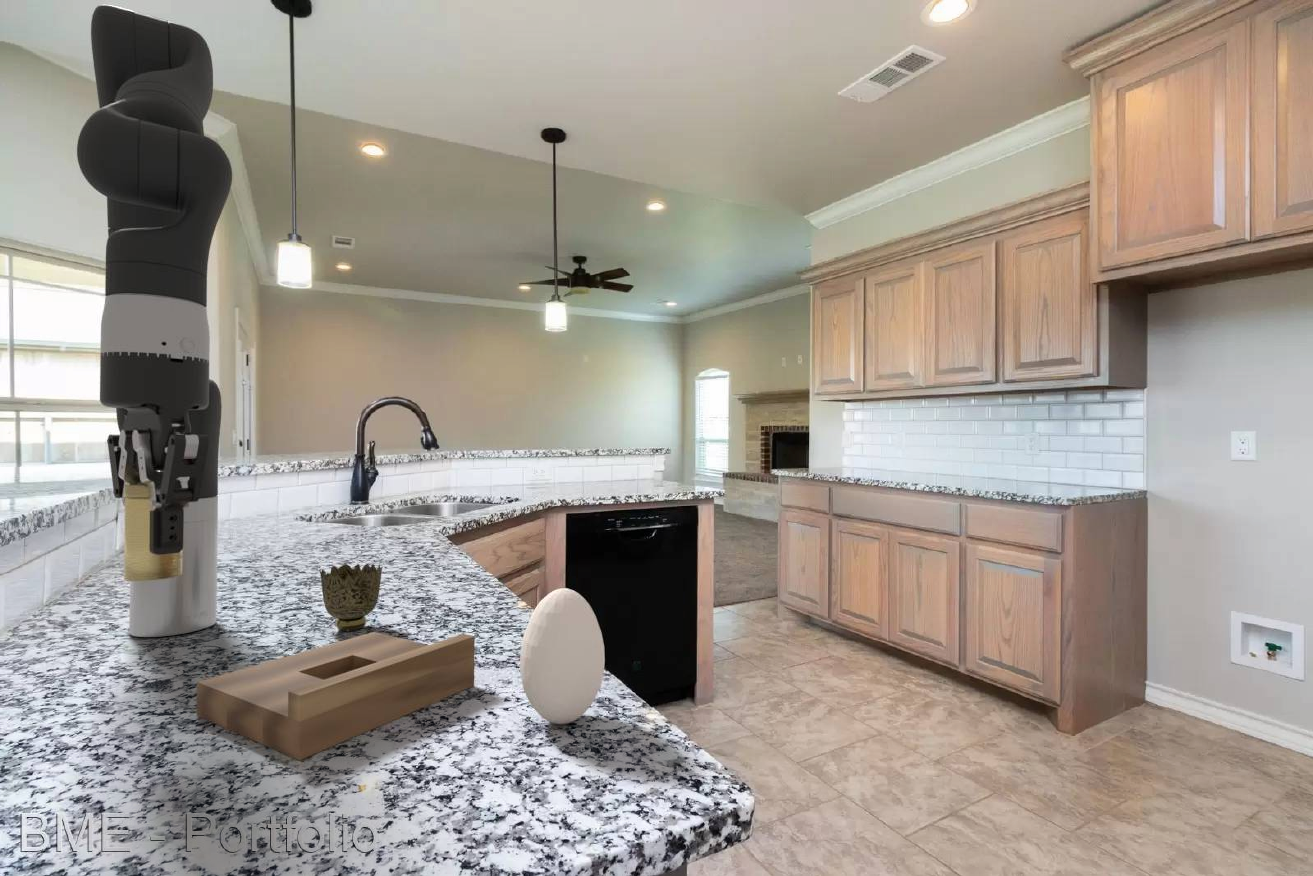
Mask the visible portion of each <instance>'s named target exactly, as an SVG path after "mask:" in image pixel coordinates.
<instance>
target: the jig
mask: <svg viewBox="0 0 1313 876" xmlns="http://www.w3.org/2000/svg"><path fill="white" fill-rule="evenodd" d="M475 639H476V638H475V635H470V634H467V633H462V634H459V635H456V636H452V637H449V638H446V639H444V640H440V641H438V642H435V643H431V644H426V643H422V642H418V641H413V640H409V639H406V638H401V637H396V636H393V635H387V634H385V633H384V634H383V633H380V632H376V631H373V632H369V633H366V634H362V635H358V636H355V637H352V638H351V637H350V638H348V639H345V640H341V641H337V642H334V643H331V644H330V643H329V644H326V645H324V646H323V645H322V646H319V647H316V648H313V649H308V650H306V651H302V652H298V653H295V654H291V655H288V656H284V657H280V658H278V659H274V660H269V661H267V662H263V663H259V664H256V665H255V664H254V665H252V666H247V667H245V668H242V669H238V670H234V671H231V672H228V673H223V674H219V675H217V676H213V677H209V678H206V679H203V680H198V681H197V682H196V716H197V717H199V718H202V719H204V720H206V721H208V722H211V723H213V724H216V725H218V726H220V727H222V728H224V729H227V730H228V731H231V732H234V733H236V734H239V735H240V736H243V737H245V738H247V739H249V740H252V741H254V742H257V743H258V744H261V745H262V746H265V747H267V748H270V749H272V750H275V751H277V752H280V753H281V754H284V755H286V756H288V757H290V758H292V759H295V760H298V761H302V760H304V759H306V758H308V757H311V756H313V755H315V754H318V753H320V752H322V751H325V750H327V749H330V748H332V747H334V746H336V745H338V744H339V745H340V744H341V743H344V742H346V741H348V740H351V739H353V738H355V737H357V736H360V735H362V734H364V733H367V732H369V731H372V730H373V729H376V728H378V727H380V726H381V727H382V725H385V724H386V725H387V724H388V723H390V722H393V721H395V720H397V719H399V718H402V717H404V716H406V715H409V714H412V713H414V712H415V711H418V710H420V709H423V708H425V707H428V706H429V705H433V704H434V703H438V702H439V701H442V700H443V699H446V698H449V697H451V696H453V695H455V694H458V693H461V692H462V691H465V690H467V689H469V688H472V687H474V686H475Z"/></svg>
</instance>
